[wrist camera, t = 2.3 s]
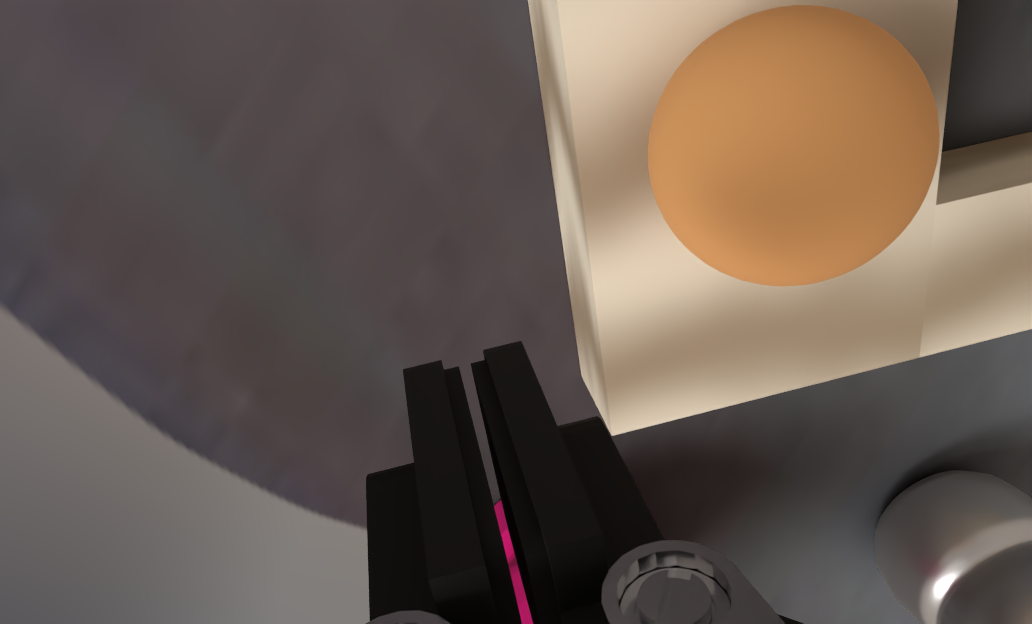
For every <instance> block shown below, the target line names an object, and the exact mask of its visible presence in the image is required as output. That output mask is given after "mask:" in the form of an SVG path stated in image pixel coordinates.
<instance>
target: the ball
mask: <svg viewBox="0 0 1032 624" xmlns="http://www.w3.org/2000/svg"><path fill="white" fill-rule="evenodd" d="M939 142H940V132H939V121H938V112H937V108H936V103H935V99H934V96H933V93H932V91H931V88H930V86H929V83H928V81H927V79H926V77H925V75H924V73H923V71H922V70H921V68H920V66H919V65H918V63H917V61H916V60H915V59H914V58H913V57H912V56H911V54H910V53H909V52H908V51H907V50H906V49H905V47H904V46H903V45H902V44H901V43H900V42H899V41H898V40H897V39H895V38H894V37H893V36H892V35H891V34H889V33H888V32H887V31H885V30H884V29H882V28H881V27H879V26H878V25H876V24H874V23H872V22H871V21H869V20H867V19H865V18H863V17H860V16H857V15H855V14H852V13H849V12H846V11H843V10H840V9H836V8H830V7H824V6H813V5H791V6H784V7H777V8H772V9H767V10H764V11H760V12H757V13H753V14H750V15H748V16H746V17H743V18H741V19H738V20H736V21H734V22H732V23H731V24H729V25H727V26H726V27H724V28H722V29H721V30H719V31H717V32H715V33H714V34H713V35H711V36H710V37H709V38H707V39H706V40H705V41H703V42H702V43H701V44H700V45H699V46H698V47H696V48H695V49H694V50H693V51H692V52H691V53H690V54H689V55H688V56H687V57H686V59H685V60H684V61H683V62H682V64H681V65H680V66H679V67H678V68H677V70H676V71H675V73H674V74H673V76H672V77H671V79H670V80H669V82H668V83H667V85H666V87H665V89H664V91H663V93H662V95H661V97H660V99H659V102H658V105H657V107H656V110H655V113H654V115H653V120H652V124H651V128H650V133H649V142H648V169H649V176H650V182H651V187H652V190H653V193H654V197H655V200H656V202H657V205H658V207H659V209H660V211H661V213H662V216H663V218H664V220H665V221H666V223H667V224H668V226H669V227H670V229H671V230H672V232H673V233H674V234H675V236H676V237H677V238H678V239H679V240H680V241H681V243H682V244H683V245H684V246H685V247H686V248H687V249H688V250H689V251H690V252H692V253H693V254H694V255H695V256H697V257H698V258H699V259H700V260H702V261H703V262H704V263H706V264H707V265H709V266H711V267H712V268H714V269H716V270H718V271H720V272H722V273H724V274H726V275H729V276H731V277H734V278H737V279H739V280H742V281H747V282H751V283H756V284H761V285H767V286H799V285H808V284H813V283H818V282H822V281H825V280H828V279H832V278H835V277H838V276H841V275H843V274H845V273H848V272H850V271H852V270H854V269H856V268H858V267H860V266H862V265H863V264H865V263H867V262H868V261H870V260H871V259H873V258H874V257H875V256H877V255H878V254H879V253H881V252H882V251H883V250H884V249H885V248H887V247H888V246H889V245H890V244H891V243H892V242H893V241H894V240H895V239H896V238H897V237H898V236H899V235H900V234H901V233H902V232H903V231H904V230H905V228H906V227H907V226H908V225H909V223H910V222H911V221H912V219H913V218H914V216H915V215H916V213H917V212H918V210H919V209H920V207H921V205H922V203H923V201H924V199H925V197H926V195H927V192H928V190H929V188H930V185H931V182H932V180H933V176H934V173H935V169H936V166H937V160H938V154H939Z"/></svg>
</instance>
